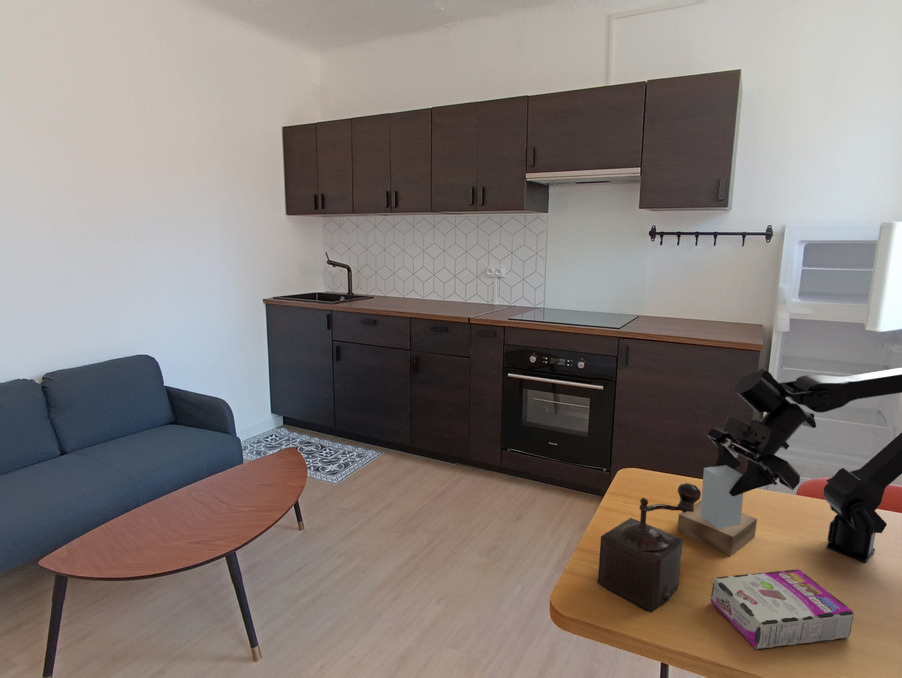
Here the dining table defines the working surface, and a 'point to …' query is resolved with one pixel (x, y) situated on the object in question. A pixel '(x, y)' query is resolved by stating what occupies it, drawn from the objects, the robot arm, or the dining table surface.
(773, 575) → the candy bar box
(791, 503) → the dining table surface
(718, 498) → the grey-blue block
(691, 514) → the walnut block
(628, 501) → the dining table surface
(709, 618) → the dining table surface
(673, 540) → the manual coffee grinder
